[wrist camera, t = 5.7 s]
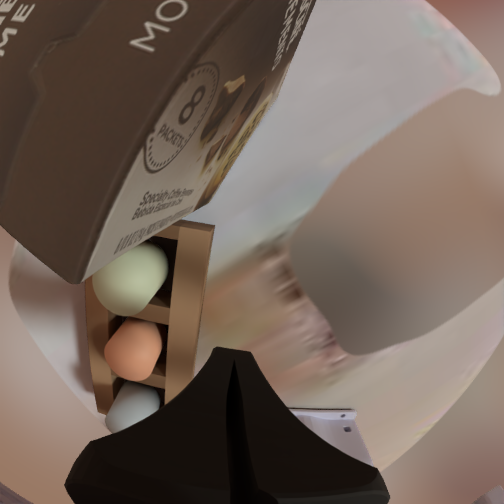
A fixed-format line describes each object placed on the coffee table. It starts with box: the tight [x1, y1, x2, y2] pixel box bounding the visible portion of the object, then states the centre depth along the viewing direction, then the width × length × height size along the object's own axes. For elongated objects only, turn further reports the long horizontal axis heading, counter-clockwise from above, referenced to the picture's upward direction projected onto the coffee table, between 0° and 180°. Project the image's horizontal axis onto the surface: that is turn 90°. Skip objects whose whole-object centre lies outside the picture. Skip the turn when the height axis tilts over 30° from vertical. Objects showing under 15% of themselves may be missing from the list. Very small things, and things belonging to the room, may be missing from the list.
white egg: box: [105, 380, 161, 433], centre depth 18 cm, size 3×3×4 cm
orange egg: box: [104, 316, 167, 381], centre depth 18 cm, size 3×3×4 cm
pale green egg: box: [92, 240, 169, 316], centre depth 16 cm, size 3×3×4 cm
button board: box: [85, 219, 215, 415], centre depth 19 cm, size 17×8×3 cm, turn 169°
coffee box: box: [0, 0, 316, 284], centre depth 10 cm, size 9×6×16 cm
